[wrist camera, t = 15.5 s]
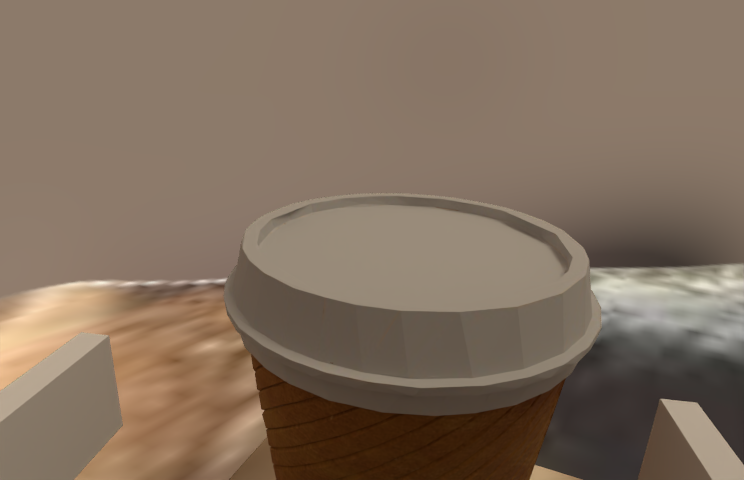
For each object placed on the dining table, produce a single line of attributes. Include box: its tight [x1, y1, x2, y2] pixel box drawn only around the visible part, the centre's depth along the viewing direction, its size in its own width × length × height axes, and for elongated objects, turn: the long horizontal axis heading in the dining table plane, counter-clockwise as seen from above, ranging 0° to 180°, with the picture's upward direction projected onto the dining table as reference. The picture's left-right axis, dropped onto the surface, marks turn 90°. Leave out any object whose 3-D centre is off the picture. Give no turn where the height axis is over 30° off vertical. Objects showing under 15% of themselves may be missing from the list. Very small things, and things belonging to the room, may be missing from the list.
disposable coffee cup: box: [224, 193, 601, 480], centre depth 15 cm, size 10×10×12 cm
